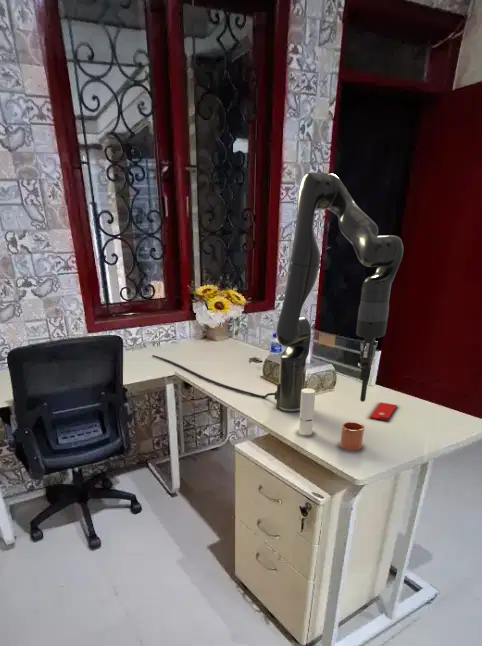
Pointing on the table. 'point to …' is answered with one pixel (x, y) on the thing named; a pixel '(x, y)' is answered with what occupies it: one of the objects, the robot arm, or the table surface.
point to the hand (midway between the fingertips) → (364, 378)
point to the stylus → (363, 390)
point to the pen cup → (352, 436)
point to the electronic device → (383, 411)
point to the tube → (306, 411)
